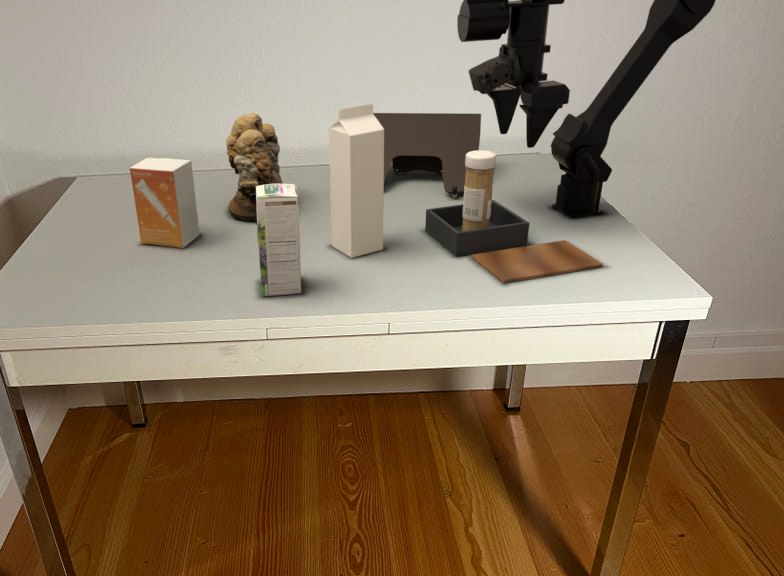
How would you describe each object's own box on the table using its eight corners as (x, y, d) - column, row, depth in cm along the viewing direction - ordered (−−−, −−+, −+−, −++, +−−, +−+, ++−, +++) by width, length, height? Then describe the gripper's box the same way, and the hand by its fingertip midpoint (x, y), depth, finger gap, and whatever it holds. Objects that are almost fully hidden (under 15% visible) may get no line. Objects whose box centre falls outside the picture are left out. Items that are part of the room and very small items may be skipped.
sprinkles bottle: (495, 237, 121) (502, 153, 114) (474, 243, 119) (481, 159, 112) (474, 229, 125) (481, 147, 118) (454, 235, 123) (459, 153, 116)
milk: (383, 250, 120) (385, 107, 108) (350, 258, 117) (350, 113, 106) (362, 238, 124) (362, 99, 113) (330, 246, 122) (327, 105, 110)
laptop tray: (353, 219, 148) (349, 185, 141) (369, 139, 160) (366, 104, 153) (473, 224, 144) (475, 188, 136) (479, 141, 155) (482, 104, 148)
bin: (491, 221, 128) (493, 199, 126) (527, 245, 118) (529, 222, 117) (425, 231, 126) (425, 209, 124) (455, 256, 116) (457, 233, 114)
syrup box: (260, 280, 111) (253, 184, 104) (300, 277, 112) (295, 181, 104) (261, 297, 107) (254, 197, 99) (303, 294, 107) (298, 194, 99)
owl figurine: (287, 224, 131) (281, 124, 122) (220, 224, 132) (210, 126, 124) (299, 191, 146) (294, 100, 138) (239, 192, 148) (231, 102, 139)
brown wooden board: (564, 243, 119) (565, 240, 119) (602, 267, 110) (603, 263, 110) (471, 257, 115) (471, 254, 115) (503, 283, 107) (503, 280, 107)
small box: (140, 244, 126) (127, 167, 119) (159, 231, 131) (148, 156, 124) (183, 249, 124) (173, 170, 117) (201, 235, 129) (192, 159, 122)
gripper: (452, 34, 122) (447, 132, 130) (506, 50, 106) (497, 161, 114) (515, 29, 124) (507, 125, 132) (578, 44, 108) (564, 152, 116)
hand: (516, 140), depth 123 cm, fingers open, 9 cm apart
